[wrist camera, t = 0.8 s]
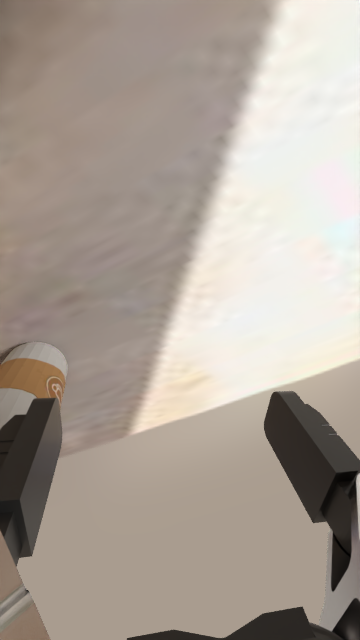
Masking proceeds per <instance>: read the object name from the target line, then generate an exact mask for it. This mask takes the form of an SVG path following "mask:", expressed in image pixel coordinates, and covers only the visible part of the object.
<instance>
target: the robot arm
mask: <svg viewBox="0 0 360 640" xmlns="http://www.w3.org/2000/svg"><path fill="white" fill-rule="evenodd" d="M264 430H265V434H266V437H267V439H268V441H269V443H270V444H271V446H272V448H273V450H274V452H275V454H276V456H277V458H278V459H279V461H280V463H281V465H282V467H283V468H284V470H285V472H286V474H287V476H288V478H289V480H290V481H291V483H292V485H293V487H294V489H295V491H296V492H297V494H298V496H299V498H300V500H301V502H302V503H303V505H304V507H305V509H306V511H307V513H308V514H309V516H310V518H311V520H312V522H313V523H318V522H326V521H327V523H328V524H329V526H330V528H331V529H330V531H329V534H328V550H327V571H326V593H325V601H324V606H323V609H322V613H321V617H320V622H319V625H316V624H313V623H309V621H308V619H307V616H306V614H305V612H304V609H303V607H297V608H292V609H286V610H280V611H275V612H269V613H264V614H262V615H260V616H259V617H257V618H256V619H254V620H253V621H251V622H249V623H248V624H246V625H245V626H243V627H241V628H240V629H238V630H237V631H235V632H234V633H232V634H231V635H229V636H227V637H226V638H215V637H210V636H204V635H199V634H194V633H189V632H183V631H178V630H170V631H164V632H158V633H153V634H147V635H142V636H136V637H132V638H127V640H360V460H359V459H358V458H357V457H356V455H355V454H354V453H353V452H352V451H351V450H350V448H349V447H348V446H347V445H346V443H345V442H344V441H343V440H342V439H341V437H340V436H338V435H337V433H336V432H335V430H334V429H333V428H332V427H331V426H329V423H328V422H327V421H326V420H325V418H324V417H323V416H322V415H321V414H320V413H319V412H318V411H317V410H315V409H314V408H312V407H311V406H310V405H308V404H304V402H303V401H302V400H301V399H300V397H299V396H298V395H297V394H296V393H295V392H293V391H284V392H283V391H282V392H274V393H273V394H272V396H271V399H270V403H269V406H268V410H267V413H266V417H265V421H264ZM61 443H62V425H61V415H60V406H59V399H58V398H34V399H33V400H32V402H31V405H30V407H29V409H28V411H27V413H26V414H23V415H14V416H13V417H12V418H11V419H10V420H9V421H8V422H7V423H6V424H5V425H4V426H2V428H1V429H0V640H50V637H49V635H48V633H47V630H46V628H45V626H44V623H43V621H42V619H41V616H40V614H39V612H38V610H37V607H36V605H35V603H34V601H33V599H32V596H31V595H30V593H29V591H28V590H26V588H25V586H24V584H23V582H22V579H21V577H20V575H19V572H18V570H17V568H16V566H17V563H18V560H19V558H21V557H29V556H32V554H33V550H34V546H35V543H36V539H37V535H38V532H39V528H40V524H41V520H42V517H43V512H44V509H45V505H46V501H47V498H48V494H49V490H50V486H51V483H52V479H53V475H54V472H55V468H56V464H57V460H58V457H59V453H60V449H61Z"/></svg>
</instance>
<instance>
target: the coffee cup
mask: <svg viewBox="0 0 360 640" xmlns="http://www.w3.org/2000/svg"><path fill="white" fill-rule="evenodd" d="M67 370H68V366H67V362H66V360H65V357H64V356H63V354H62V353H61V352H60V351H59V350H58V349H57V348H55V347H54V346H52V345H50V344H47V343H43V342H29V343H25V344H22V345H20V346H18V347H16V348H14V349H13V350H12V351H11V352H10V353H9V355H8V356H7V357H6V358H5V360H4V361H3V362H2V363H1V365H0V429H1V428H2V426H4V425H5V424H6V423H7V422H8V421H9V420H10V419H11V418H12V417H13V416H14V415H23V414H26V413H27V411H28V409H29V407H30V405H31V402H32V400H33V399H34V398H58V399H59V406H60V407H61V402H62V397H63V393H64V388H65V380H66V375H67Z"/></svg>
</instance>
